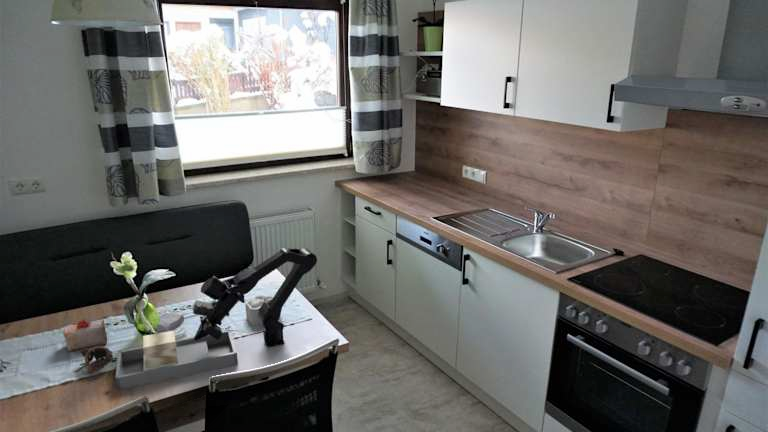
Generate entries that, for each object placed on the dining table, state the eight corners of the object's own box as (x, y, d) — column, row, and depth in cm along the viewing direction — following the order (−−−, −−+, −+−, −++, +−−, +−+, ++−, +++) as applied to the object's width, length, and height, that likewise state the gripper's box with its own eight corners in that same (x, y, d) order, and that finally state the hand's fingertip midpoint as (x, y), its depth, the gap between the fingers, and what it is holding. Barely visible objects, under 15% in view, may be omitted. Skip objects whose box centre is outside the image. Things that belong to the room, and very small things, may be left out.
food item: (65, 354, 186) (60, 330, 183) (67, 343, 192) (62, 320, 189) (107, 345, 191) (103, 322, 188) (108, 335, 198) (104, 312, 195)
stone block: (147, 336, 201) (170, 335, 199) (144, 325, 200) (166, 323, 198) (165, 323, 212) (187, 321, 210) (162, 312, 211) (183, 310, 209)
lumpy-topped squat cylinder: (244, 316, 213) (243, 297, 211) (274, 308, 220) (273, 290, 217) (252, 327, 205) (251, 307, 202) (283, 318, 212) (282, 299, 209)
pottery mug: (122, 358, 184) (117, 347, 178) (105, 382, 178) (99, 371, 172) (91, 348, 185) (85, 336, 179) (73, 371, 178) (66, 360, 172)
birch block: (176, 350, 183) (174, 330, 181) (178, 362, 176) (175, 341, 174) (146, 356, 179) (143, 336, 177) (146, 368, 172) (142, 347, 170)
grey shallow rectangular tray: (231, 340, 195) (230, 329, 194) (237, 364, 181) (236, 352, 179) (120, 362, 181) (118, 351, 180) (117, 390, 166) (115, 378, 165)
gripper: (202, 283, 186) (174, 316, 185) (208, 305, 169) (176, 342, 169) (227, 298, 191) (199, 331, 190) (234, 321, 175) (204, 357, 174)
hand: (194, 339), depth 181 cm, fingers closed
